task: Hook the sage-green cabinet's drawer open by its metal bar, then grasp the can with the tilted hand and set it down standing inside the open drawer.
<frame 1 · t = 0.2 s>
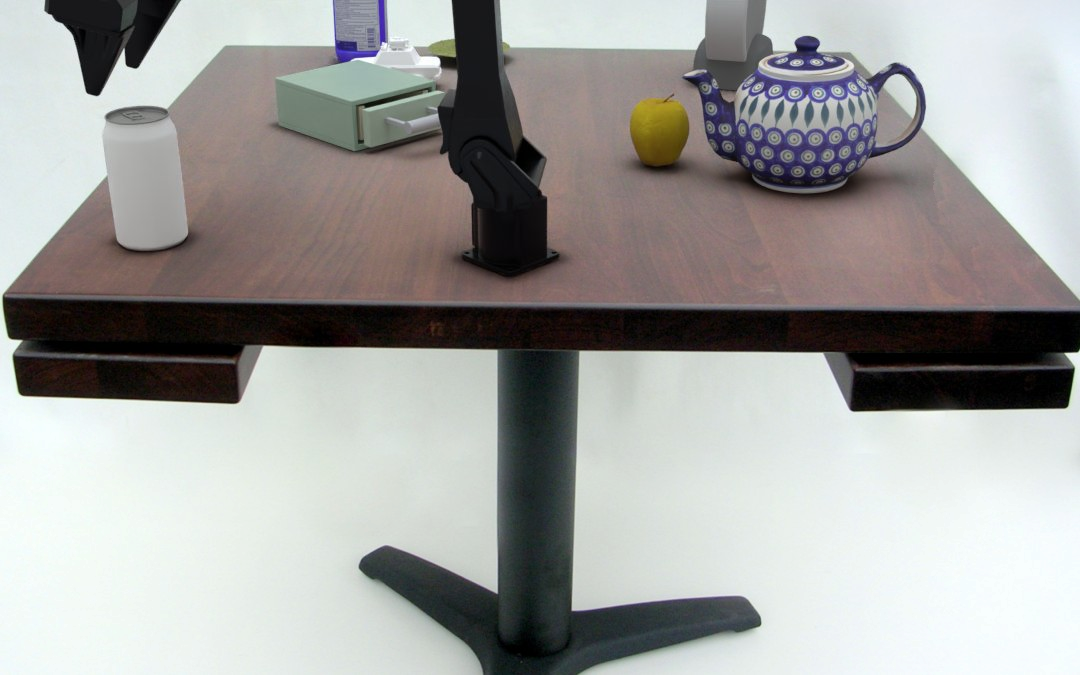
hand: (113, 80, 119), 15 cm above the table, tool pointing down, fingers open, 9 cm apart
drawer: (383, 111, 155), point 3 cm above the table, slide at 1.0 cm
bottle: (363, 63, 188), on the table
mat: (469, 61, 188), on the table
toy car: (395, 90, 175), on the table
can: (153, 241, 127), on the table
apple: (658, 166, 147), on the table
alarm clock: (732, 78, 180), on the table
cabinet: (357, 127, 160), on the table
teapot: (796, 179, 143), on the table
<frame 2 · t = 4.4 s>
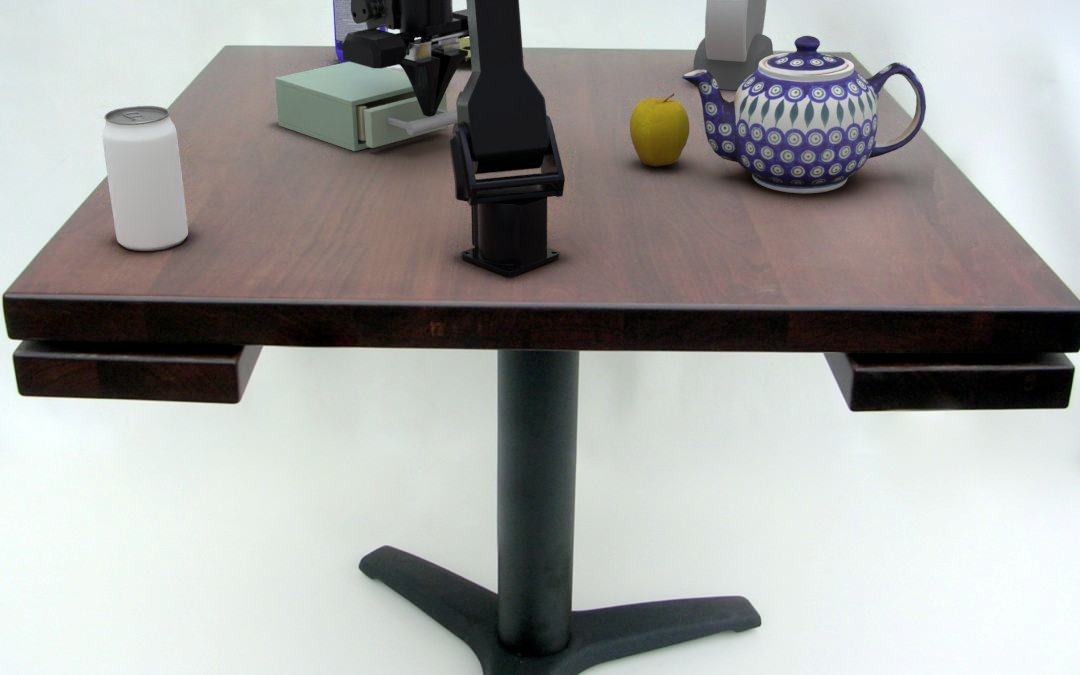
hand: (429, 115, 150), 4 cm above the table, tool pointing down, fingers closed, pressing on drawer
drawer: (385, 112, 155), point 3 cm above the table, slide at 1.3 cm, touching gripper
everything else where it was.
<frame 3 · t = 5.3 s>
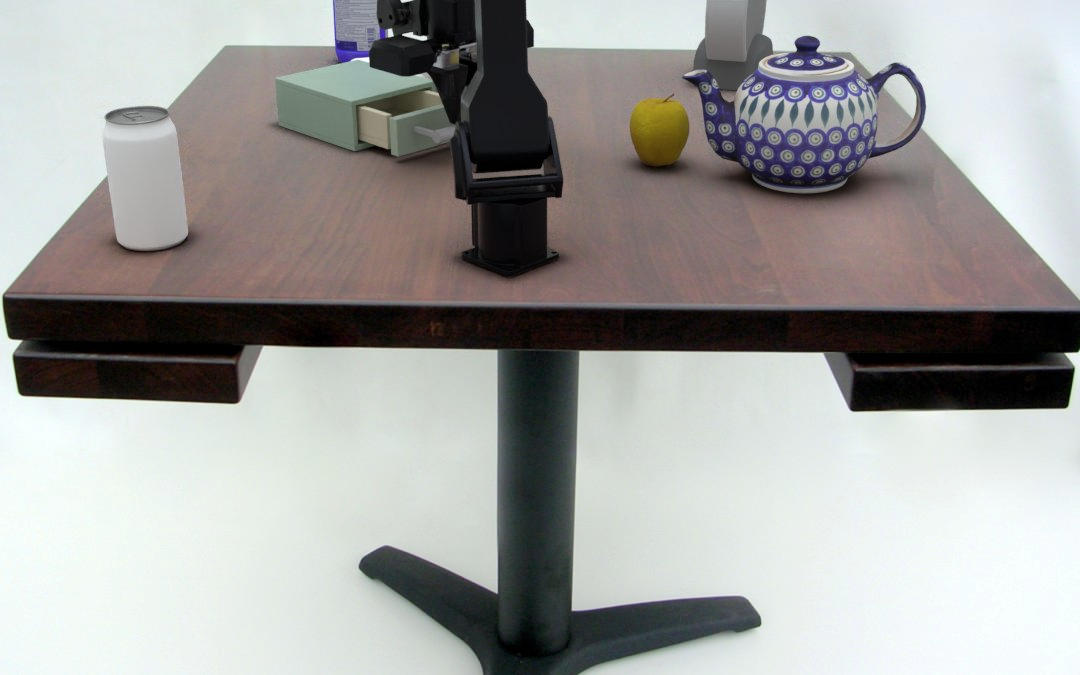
hand: (455, 123, 147), 4 cm above the table, tool pointing down, fingers closed, pressing on drawer
drawer: (410, 120, 152), point 3 cm above the table, slide at 5.6 cm, touching gripper
everything else where it was.
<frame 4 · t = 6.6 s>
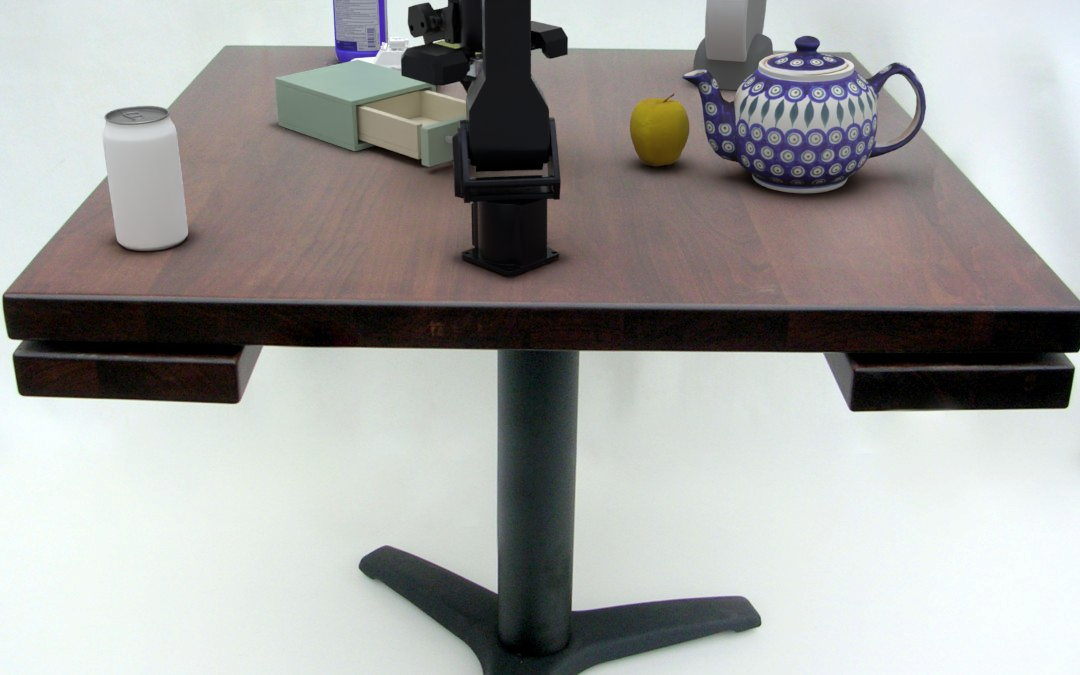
hand: (487, 133, 144), 4 cm above the table, tool pointing down, fingers closed, pressing on drawer
drawer: (440, 129, 149), point 3 cm above the table, slide at 10.7 cm, touching gripper
everything else where it was.
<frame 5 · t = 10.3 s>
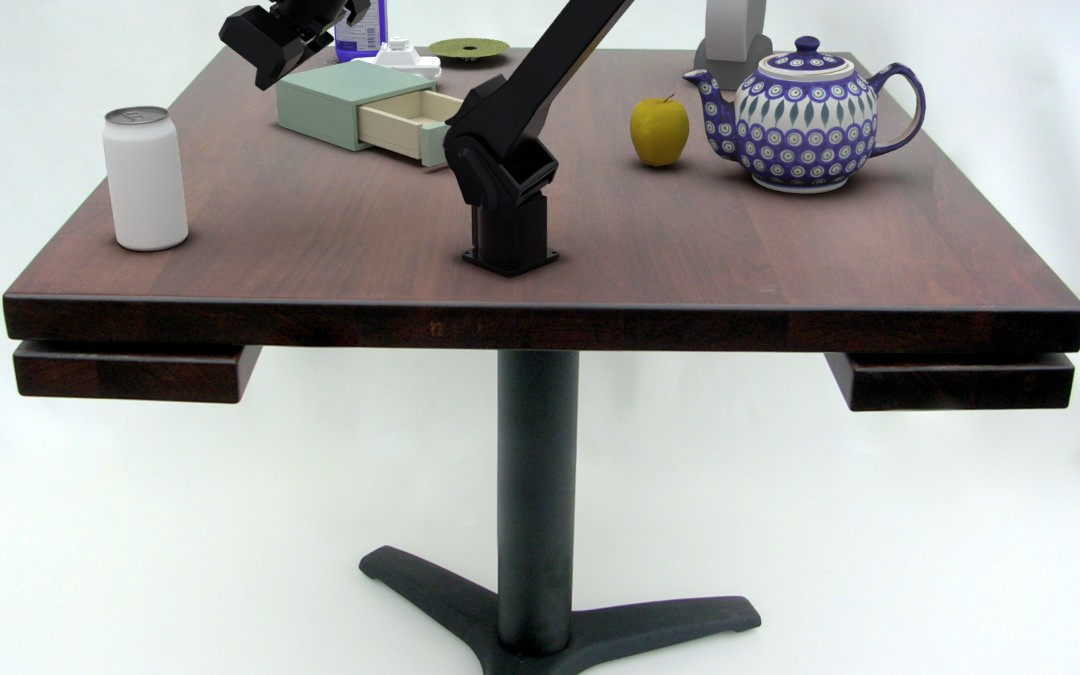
hand: (260, 87, 126), 13 cm above the table, tool tilted 35°, fingers closed
drawer: (440, 129, 149), point 3 cm above the table, slide at 10.7 cm
everything else where it was.
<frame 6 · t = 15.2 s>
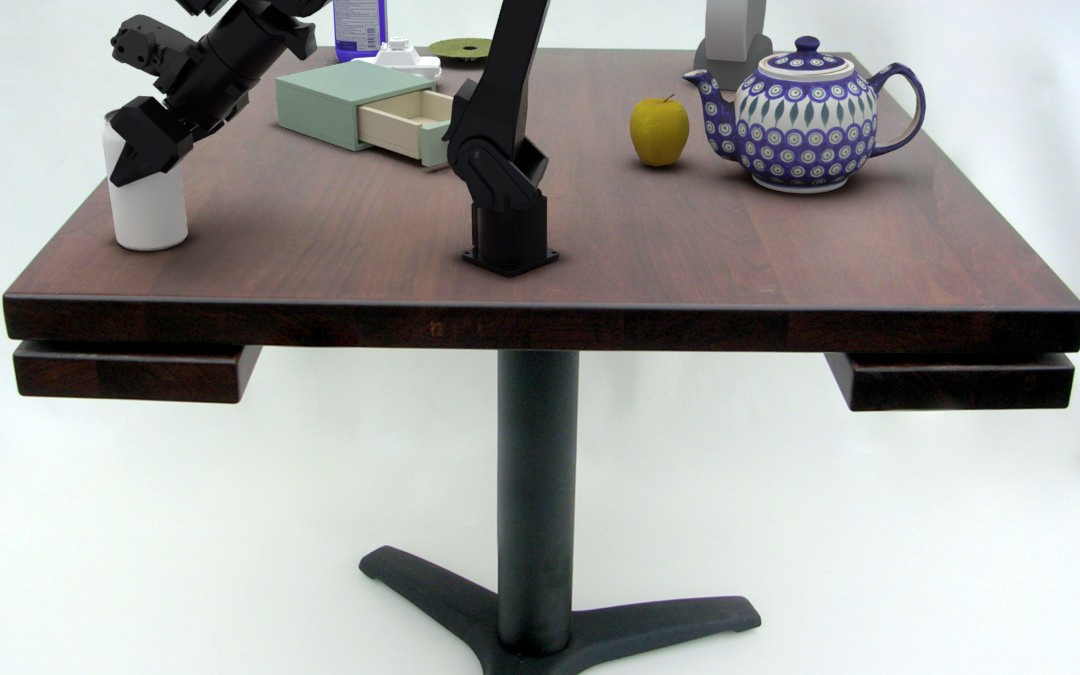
hand: (129, 171, 124), 7 cm above the table, tool tilted 45°, fingers closed on can, 6 cm apart
can: (153, 241, 127), on the table, touching gripper
everything else where it was.
when the fingers open (8 cm above the table, at t = 26.1 s): can stays where it is, resting on drawer.
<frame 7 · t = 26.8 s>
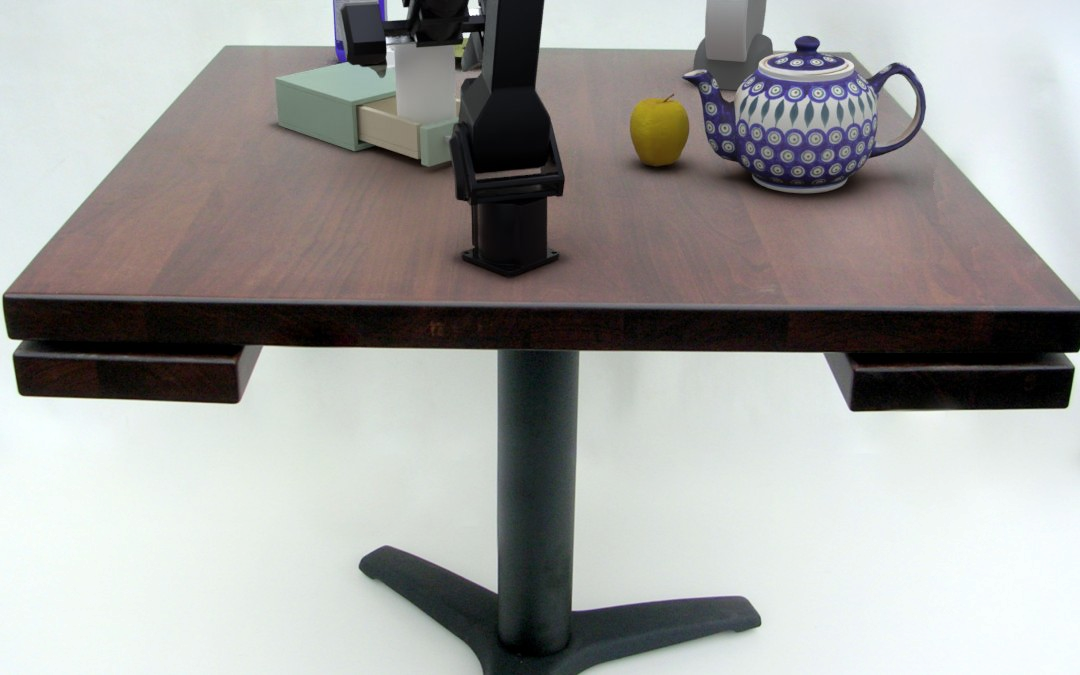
hand: (422, 71, 149), 9 cm above the table, tool tilted 45°, fingers open, 9 cm apart
drawer: (439, 129, 149), point 3 cm above the table, slide at 10.6 cm, touching can
can: (427, 136, 151), point 2 cm above the table, touching drawer
everything else where it was.
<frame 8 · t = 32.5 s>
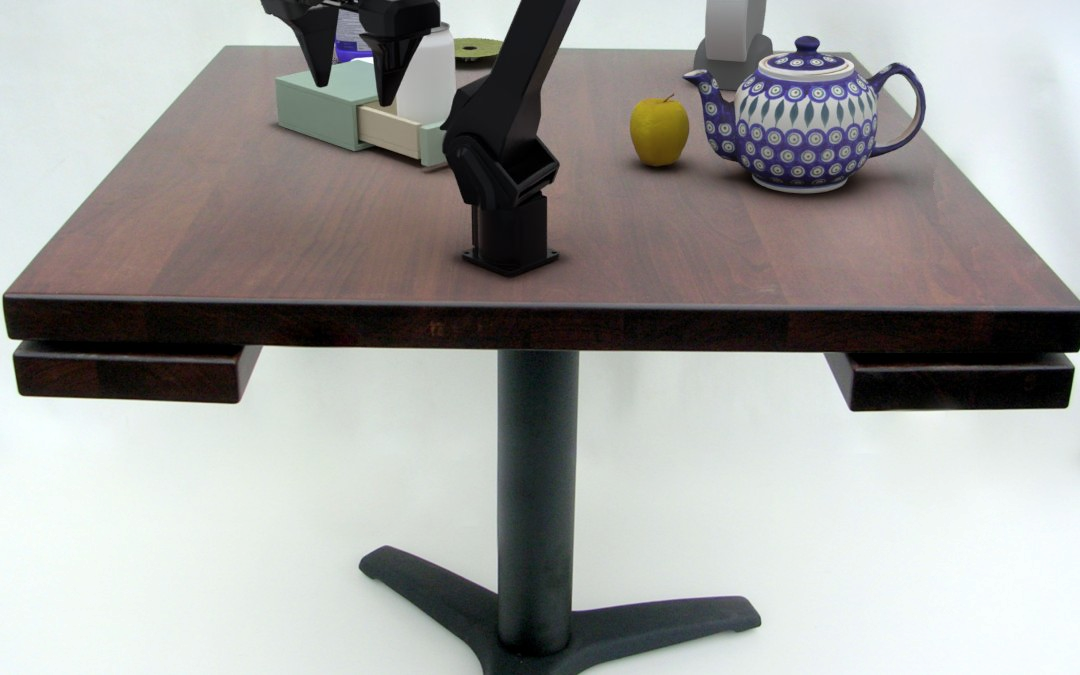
hand: (353, 96, 123), 13 cm above the table, tool pointing down, fingers open, 9 cm apart
nothing on the table moved.
at the end: drawer slide at 10.6 cm; can inside the target area in the drawer (0.2 cm from its centre), point 1.6 cm above the cabinet's base; can tilted 0° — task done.
